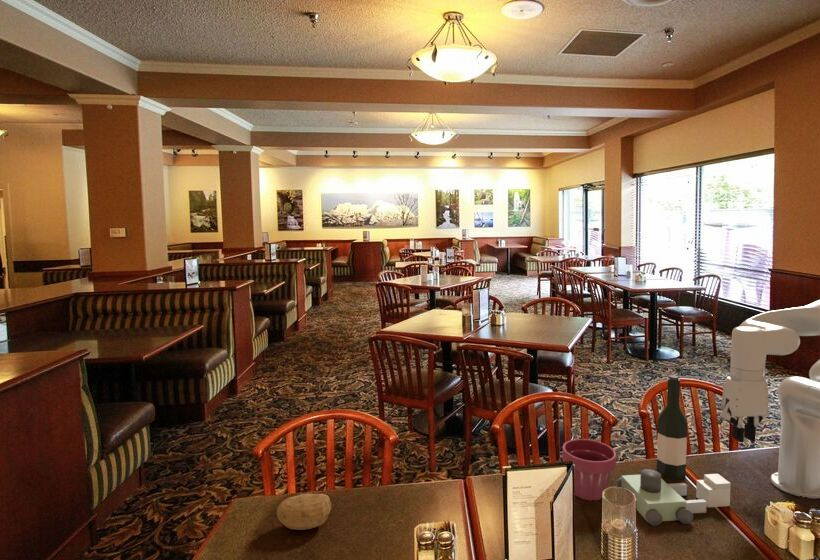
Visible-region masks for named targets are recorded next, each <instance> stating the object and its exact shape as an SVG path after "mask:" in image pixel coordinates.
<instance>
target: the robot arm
mask: <svg viewBox="0 0 820 560" xmlns="http://www.w3.org/2000/svg"><path fill="white" fill-rule="evenodd" d="M814 336H815V337H817V336H820V299H818V300H815V301H813V302H811V303H809V304H806V305H804V306H797V307H790V308H784V309H776V310H770V311H765V312H761V313H759V314H756V315H754V316H751V317H750V318H747V319H745V320H743V322H742V323H741V324H739V326H736V327H734V328H733V329H732V332H731V347H730V369H729V371H730V372H729V376H726V379H725V382H724V385H723V388H722V389H723V390H722V394H721V395H722V397H721V411H722V412H721V414H720V417H721V418H722V419H724V420H726V421H728V422H730V424H731V425H732V438H733V440H735V441H737V442H739V443H744V442H745V441H744V440H745V438H746V439H747V440H748V441H750V442H752V443H755V442H756V435H757V428H758V427H759V426H760V423H761V422H762V421H763V420H764V419H766V418H768V417H770V413H769V389H768V388H769V387H768V383H767V379H766V378H765V374H768V372H769V370H768V368H766V357H767V355H771V356H773V355H774V356H786V355H790V354H792V353H794V352H795V351H797V350H798V348H799V346H800V345H801V338H800V337H814ZM808 376H809V378H807V377H804V376H799V375H798V376H796V375H795V376H793V375H792V376H788V377H786V378H784V379H782V381H781V382H780V384H779V385H778V390H777V395H778V396H777V397H778V402H779V407H780V432H779V434H780V435H779V447H778V448H779V450H778V467H777V472H774V473H772V474H771V475H770V481H771V483H772V484H773V485H774V486H775V487H776V488H777V489H779V490H781V491H783V492H785V493H787V494H790V495H793V496H797V497H800V496H802V497H801V498H805V497H807V498H806V499H820V359H818V360H817V361H816V362H815V363H814V364H812V366H811V367H810V369H809V372H808ZM744 418H746V422H745V423H744V427H743V422H744Z"/></svg>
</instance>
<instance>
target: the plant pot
mask: <svg viewBox="0 0 820 560" xmlns="http://www.w3.org/2000/svg"><path fill="white" fill-rule="evenodd" d="M561 452H562V455H561V458H562V461H563V463H564V462H565V461H572V462H573V463H574V464H575V494H574V495H575V496H576V497H577V498H580V499H582V500H587V501H592V500H594V501H600V500H601V495H602V491H603V490H604V489H606V488H607V489H608V487H609V482H610V479H611V475H612V472H613V471H614V470H615V469H616V466H617V452H616V451H615V449H614V448H612V447H611V446H609V445H608V444H606V443H603V442H601V441H598V440H595V439H587V438H578V439H577V438H576V439H575V438H574V439H569V440H568V441H565V442H564V443H563V444H562V451H561Z"/></svg>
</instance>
